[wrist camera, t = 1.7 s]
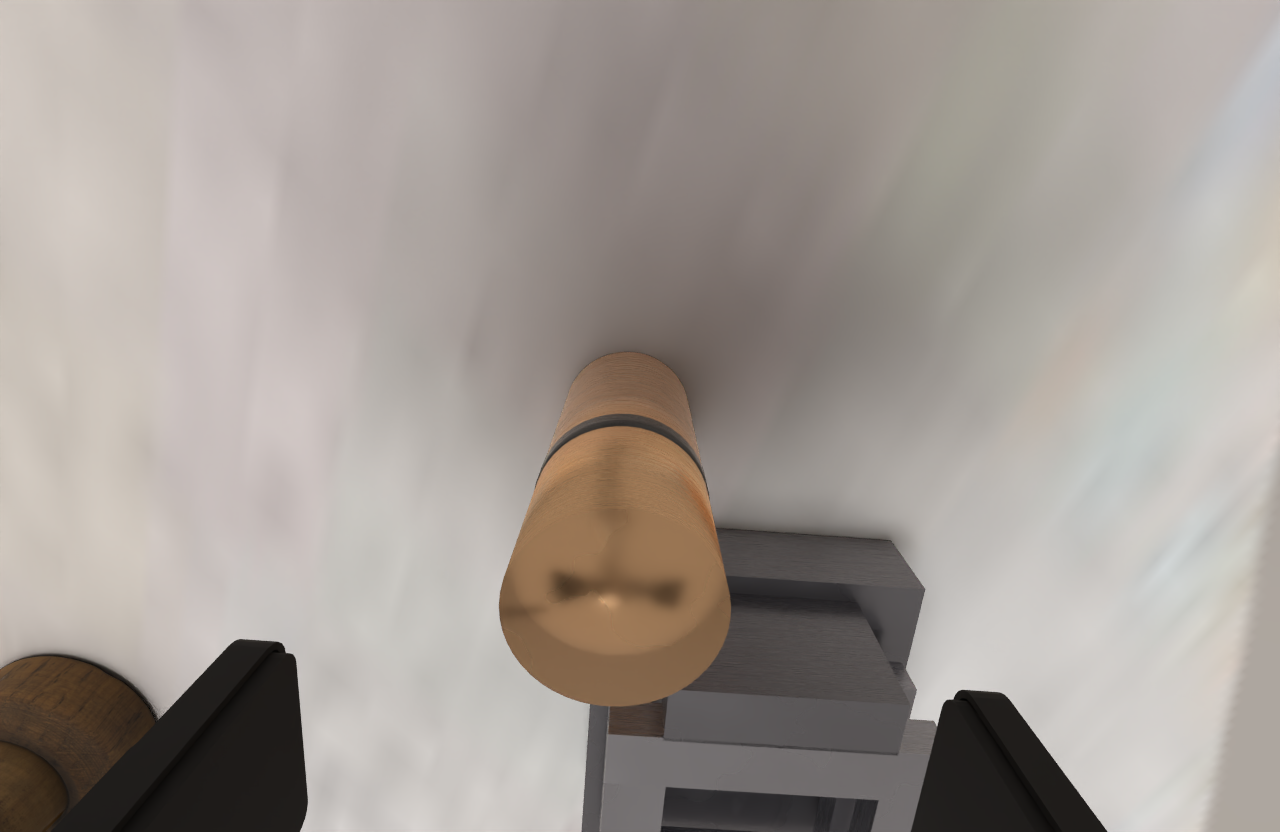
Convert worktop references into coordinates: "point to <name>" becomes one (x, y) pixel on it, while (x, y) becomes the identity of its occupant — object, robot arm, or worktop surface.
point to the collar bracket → (779, 704)
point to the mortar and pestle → (60, 736)
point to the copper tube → (618, 545)
